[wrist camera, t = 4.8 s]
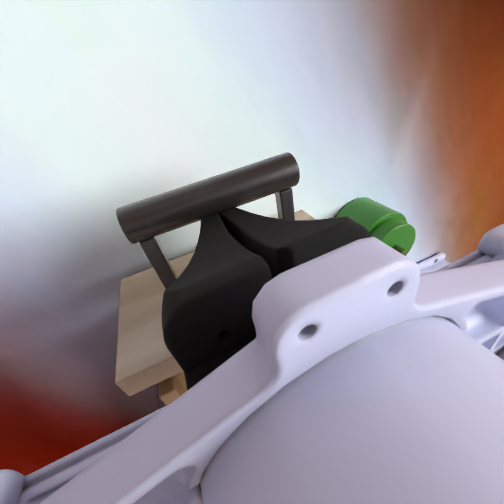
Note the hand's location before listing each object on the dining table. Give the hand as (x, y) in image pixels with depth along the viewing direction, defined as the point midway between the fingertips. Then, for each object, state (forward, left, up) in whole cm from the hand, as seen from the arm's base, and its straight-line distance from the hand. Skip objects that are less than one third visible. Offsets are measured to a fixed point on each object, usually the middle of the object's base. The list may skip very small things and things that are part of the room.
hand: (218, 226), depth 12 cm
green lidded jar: (-12, +7, -4) cm, 14 cm away
